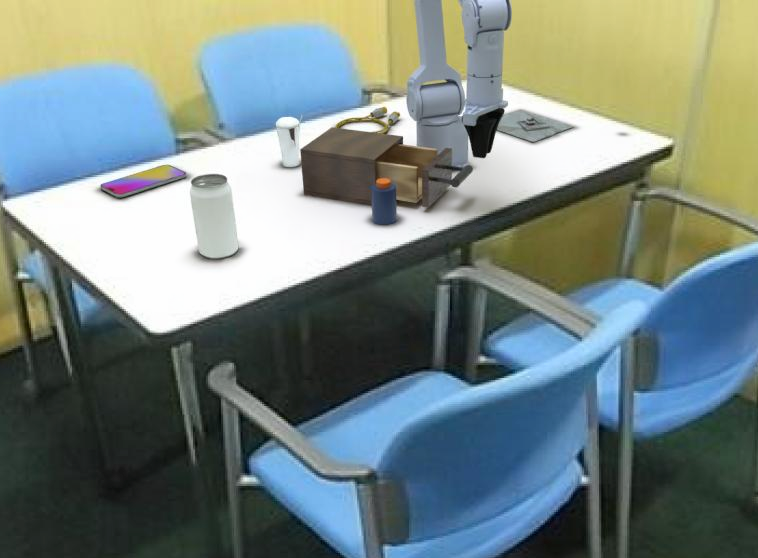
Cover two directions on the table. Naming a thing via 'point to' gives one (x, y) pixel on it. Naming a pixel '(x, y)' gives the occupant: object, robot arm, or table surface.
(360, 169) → the cabinet
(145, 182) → the smartphone
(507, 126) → the mousepad
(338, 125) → the extension cord
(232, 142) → the table surface
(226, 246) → the can
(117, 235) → the table surface
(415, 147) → the drawer
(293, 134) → the milkshake
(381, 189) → the glue bottle
